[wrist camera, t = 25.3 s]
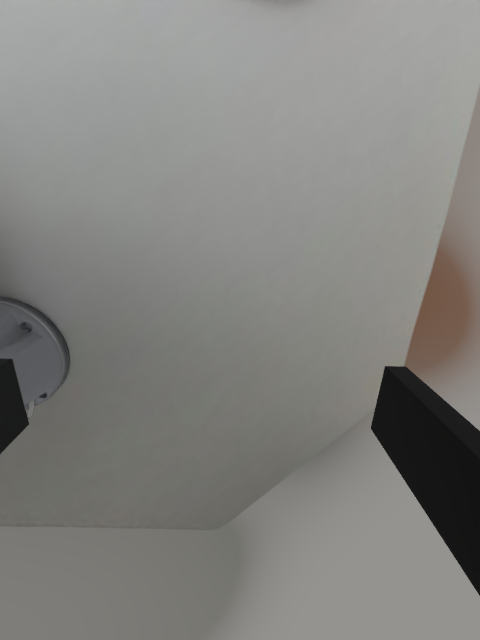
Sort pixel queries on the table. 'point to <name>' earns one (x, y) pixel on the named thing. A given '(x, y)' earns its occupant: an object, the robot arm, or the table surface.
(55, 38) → the table surface
